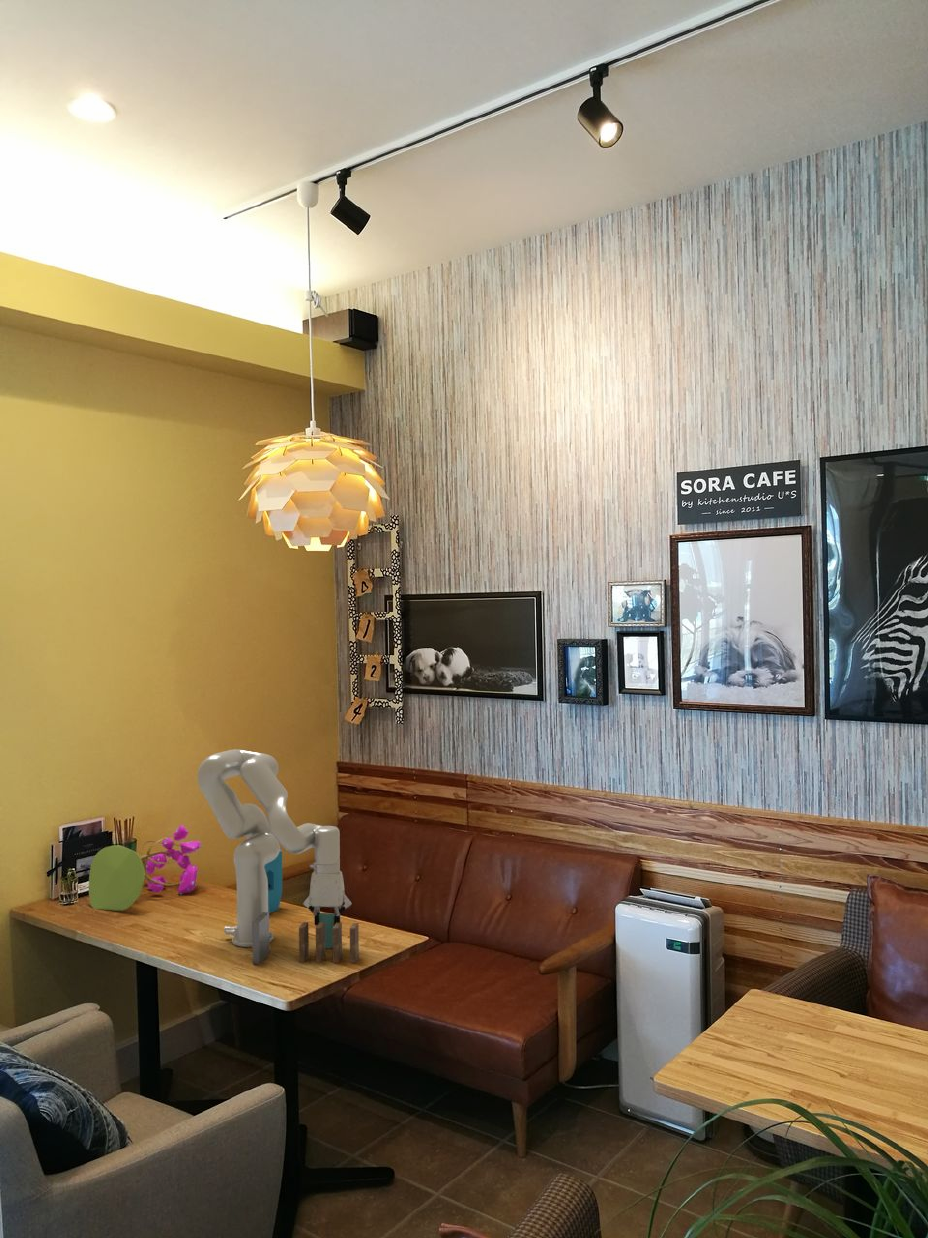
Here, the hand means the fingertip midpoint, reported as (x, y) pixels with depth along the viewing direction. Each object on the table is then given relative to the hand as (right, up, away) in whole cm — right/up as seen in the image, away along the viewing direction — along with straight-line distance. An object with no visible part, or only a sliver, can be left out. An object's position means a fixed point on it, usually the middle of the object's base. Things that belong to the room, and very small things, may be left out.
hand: (327, 927), depth 289 cm
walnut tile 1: (+9, -6, -11) cm, 16 cm away
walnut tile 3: (-1, -6, -10) cm, 12 cm away
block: (-27, -7, +37) cm, 46 cm away
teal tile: (0, -6, 0) cm, 6 cm away
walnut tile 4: (-6, -6, -10) cm, 13 cm away
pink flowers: (-73, -8, +56) cm, 92 cm away
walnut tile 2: (+4, -6, -10) cm, 13 cm away
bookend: (-18, -6, -9) cm, 21 cm away
